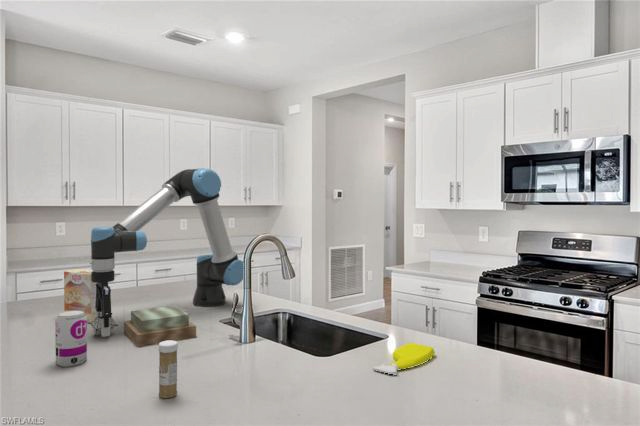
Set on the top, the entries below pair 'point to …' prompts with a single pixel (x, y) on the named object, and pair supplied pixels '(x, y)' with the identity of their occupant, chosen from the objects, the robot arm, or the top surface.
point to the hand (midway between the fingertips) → (103, 332)
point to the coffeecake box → (80, 292)
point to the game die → (97, 324)
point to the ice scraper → (407, 357)
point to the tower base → (158, 334)
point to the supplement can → (71, 338)
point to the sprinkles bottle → (168, 369)
